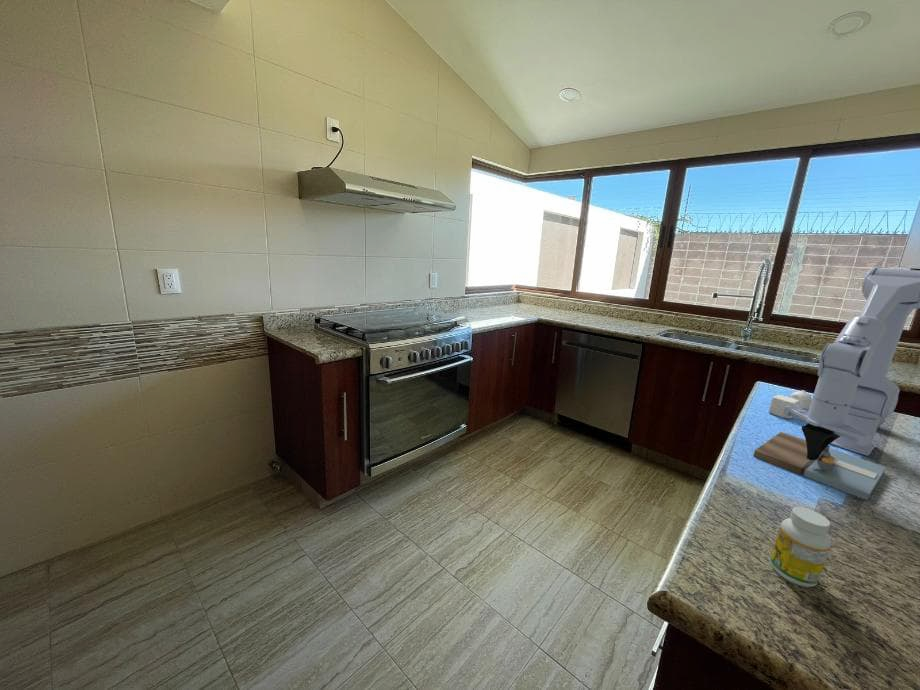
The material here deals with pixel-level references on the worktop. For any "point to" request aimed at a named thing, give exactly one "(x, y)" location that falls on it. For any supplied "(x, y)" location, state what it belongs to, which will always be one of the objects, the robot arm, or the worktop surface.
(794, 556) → the supplement bottle
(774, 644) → the worktop surface
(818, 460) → the lock bar
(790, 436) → the jamb board
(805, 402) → the container set
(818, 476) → the door leaf
